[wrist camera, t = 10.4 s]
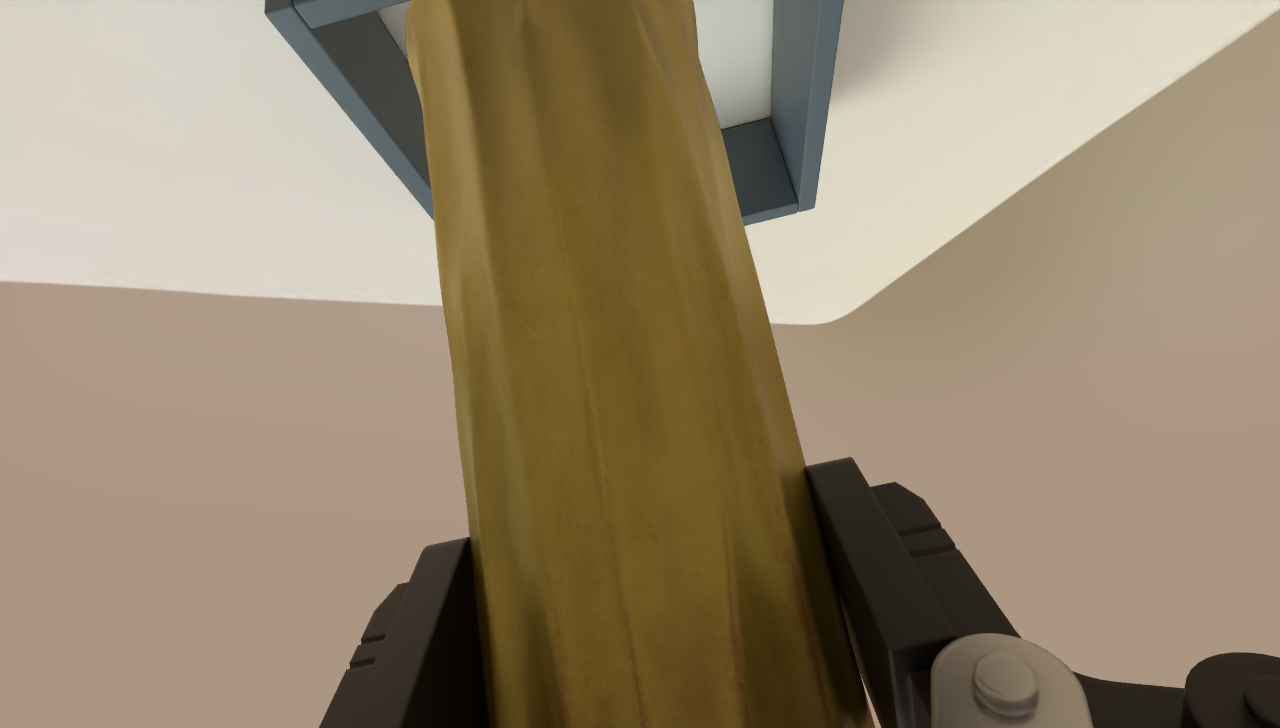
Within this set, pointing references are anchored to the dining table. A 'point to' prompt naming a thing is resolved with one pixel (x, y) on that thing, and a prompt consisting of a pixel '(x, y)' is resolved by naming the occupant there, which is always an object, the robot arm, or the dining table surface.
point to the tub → (757, 152)
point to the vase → (618, 382)
